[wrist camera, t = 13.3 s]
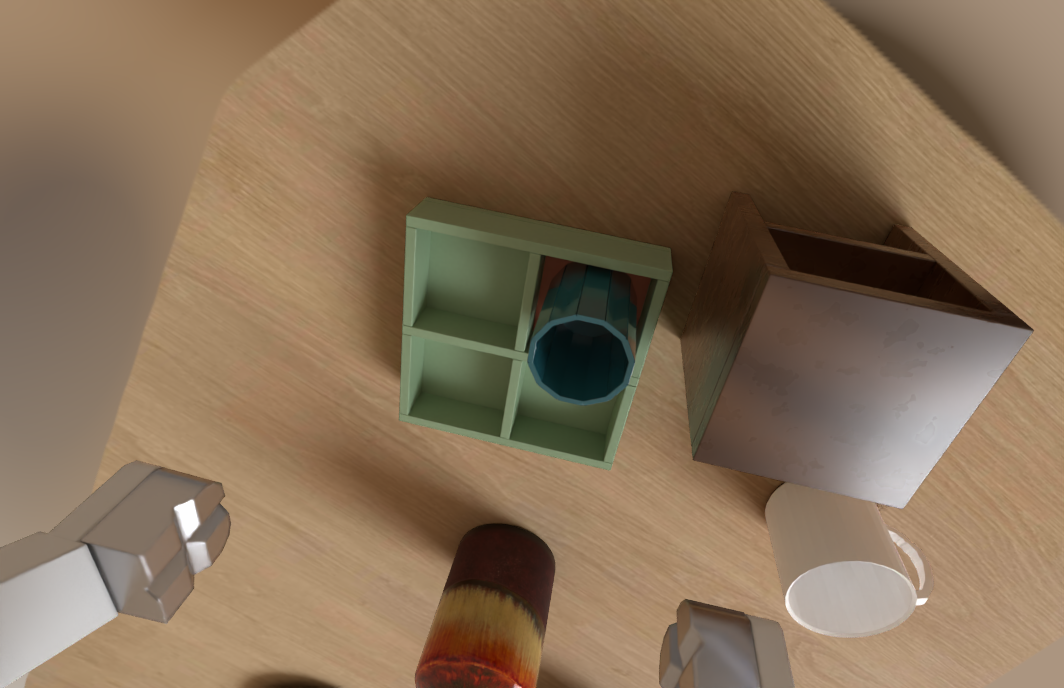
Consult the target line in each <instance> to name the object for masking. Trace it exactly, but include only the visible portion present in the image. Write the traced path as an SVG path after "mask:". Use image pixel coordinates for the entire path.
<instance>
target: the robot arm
mask: <svg viewBox="0 0 1064 688" xmlns="http://www.w3.org/2000/svg"><path fill="white" fill-rule="evenodd" d="M224 497H225V494H224V490H223V487H222V483H219V482H216V481H212V480H208V479H204V478H201V477H197V476H193V475H189V474H186V473H182V472H178V471H175V470H171V469H167V468H165V467H161V466H157V465H153V464H149V463H145V462H141V461H137V460H136V461H134V462H131V463H129V464H127V465H124V466H123V467H122V468H121V469H120V470H118V471H117V472H116V473H115V474H114V475H113V476H112V477H111V478H110V479H108V480H107V481H106V482H105V483H104V484H103V485H102V486H101V487H99V488H98V489H97V490H96V491H95V492H94V493H93V494H92V495H90V496H89V497H88V498H87V499H86V500H85V501H84V502H83V503H82V504H80V505H79V506H78V507H77V508H76V509H75V510H74V511H73V512H71V513H70V514H69V515H68V516H67V517H66V518H65V519H64V520H62V521H61V522H60V523H59V524H58V525H57V526H56V527H55V528H54V529H52V530H51V531H50V532H49V533H44V532H37V533H35V534H32V535H30V536H27V537H25V538H23V539H20V540H18V541H15V542H13V543H11V544H8V545H5V546H3V547H1V548H0V688H4V687H6V686H7V685H9V684H11V683H12V682H13V681H15V680H17V679H18V678H20V677H22V676H23V675H25V674H26V673H28V672H30V671H31V670H33V669H34V668H36V667H37V666H39V665H41V664H42V663H44V662H45V661H47V660H49V659H50V658H52V657H53V656H55V655H56V654H58V653H60V652H61V651H63V650H64V649H66V648H68V647H69V646H71V645H72V644H74V643H75V642H77V641H79V640H80V639H82V638H83V637H85V636H87V635H88V634H90V633H91V632H93V631H94V630H96V629H98V628H99V627H101V626H102V625H104V624H106V623H107V622H109V621H110V620H112V619H113V618H115V617H117V616H118V613H117V612H119V613H123V614H127V615H132V616H136V617H140V618H144V619H148V620H152V621H157V622H161V623H165V624H167V623H168V621H169V620H170V619H171V618H172V616H173V615H174V614H175V612H176V611H177V610H178V609H179V607H180V606H181V605H182V603H183V602H184V601H185V599H186V598H187V597H188V596H189V594H190V593H191V592H192V590H193V589H194V575H195V574H197V573H199V572H201V571H202V570H204V569H206V568H208V567H210V566H212V564H213V563H214V562H215V560H216V559H217V557H218V556H219V555H220V553H221V552H222V550H223V548H224V546H225V544H226V541H227V539H228V537H229V534H230V526H231V521H230V516H229V513H228V512H227V510H226V509H225V508H224V507H223V506H222V505H221V504H220V502H221V500H222V499H223V498H224ZM659 684H660V686H661V687H662V688H795V685H794V681H793V676H792V671H791V666H790V662H789V657H788V652H787V648H786V643H785V638H784V633H783V630H782V628H781V626H780V625H779V623H778V622H776V621H773V620H769V619H764V618H760V617H756V616H751V615H747V614H744V612H739V611H735V610H731V609H727V608H722V607H718V606H714V605H709V604H705V603H701V602H697V601H692V600H688V599H685V600H683V601H682V602H681V603H680V605H679V607H678V609H677V623H674V624H672V625H669V627H668V629H667V631H666V634H665V636H664V639H663V644H662V648H661V653H660V665H659Z"/></svg>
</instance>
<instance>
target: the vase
mask: <svg viewBox="0 0 1064 688" xmlns="http://www.w3.org/2000/svg"><path fill="white" fill-rule="evenodd" d="M554 574H555V560H554V556H553V554H552V552H551V550H550V549H549V547H548V546H547V545H546V544H545V543H544V542H543V541H542V540H541V539H539V538H538V537H537V536H535V535H534V534H532V533H530V532H528V531H526V530H524V529H521V528H518V527H515V526H511V525H504V524H488V525H483V526H479V527H477V528H474V529H472V530H471V531H469V532H468V533H467V534H466V535H465V536H464V537H463V539H462V540H461V542H460V544H459V547H458V550H457V553H456V556H455V558H454V561H453V564H452V567H451V570H450V573H449V576H448V579H447V582H446V584H445V587H444V590H443V593H442V596H441V599H440V602H439V605H438V608H437V611H436V613H435V616H434V619H433V622H432V625H431V628H430V631H429V634H428V637H427V640H426V643H425V645H424V648H423V651H422V654H421V657H420V660H419V663H418V666H417V669H416V673H415V684H416V688H536V687H537V681H538V674H539V668H540V662H541V656H542V650H543V643H544V637H545V631H546V625H547V619H548V612H549V606H550V600H551V593H552V587H553V581H554Z"/></svg>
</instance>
